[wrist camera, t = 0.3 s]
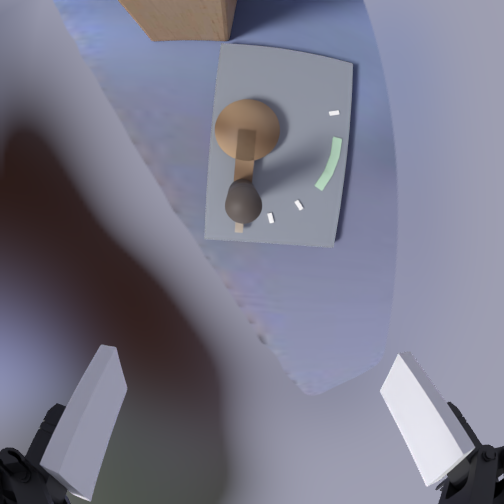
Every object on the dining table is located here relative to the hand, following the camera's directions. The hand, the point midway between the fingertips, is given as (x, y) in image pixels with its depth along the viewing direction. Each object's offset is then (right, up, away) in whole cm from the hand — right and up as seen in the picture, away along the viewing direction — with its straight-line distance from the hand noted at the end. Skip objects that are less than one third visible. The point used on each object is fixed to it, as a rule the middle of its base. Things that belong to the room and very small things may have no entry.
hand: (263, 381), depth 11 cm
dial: (-1, +15, +18) cm, 24 cm away
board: (+3, +18, +19) cm, 27 cm away
